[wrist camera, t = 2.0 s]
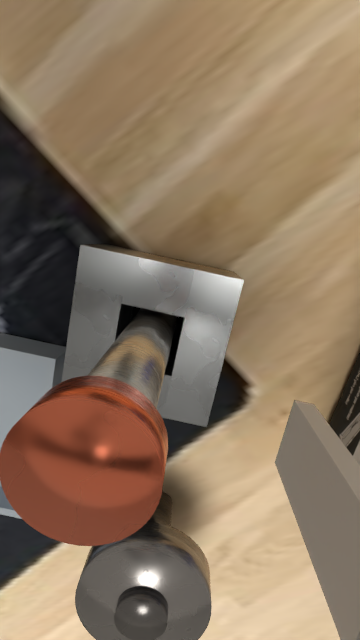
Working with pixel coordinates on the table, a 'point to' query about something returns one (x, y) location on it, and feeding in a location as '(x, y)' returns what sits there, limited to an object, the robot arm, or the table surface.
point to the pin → (95, 443)
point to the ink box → (349, 414)
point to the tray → (24, 384)
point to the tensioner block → (163, 296)
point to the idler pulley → (146, 585)
